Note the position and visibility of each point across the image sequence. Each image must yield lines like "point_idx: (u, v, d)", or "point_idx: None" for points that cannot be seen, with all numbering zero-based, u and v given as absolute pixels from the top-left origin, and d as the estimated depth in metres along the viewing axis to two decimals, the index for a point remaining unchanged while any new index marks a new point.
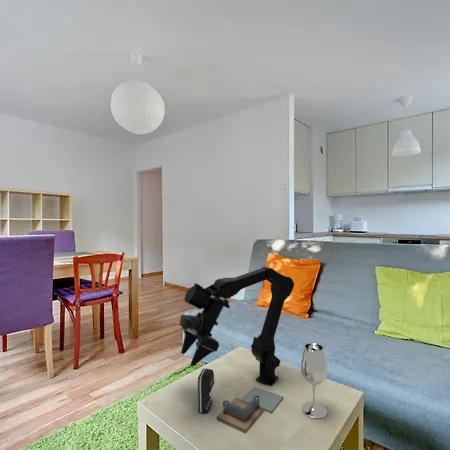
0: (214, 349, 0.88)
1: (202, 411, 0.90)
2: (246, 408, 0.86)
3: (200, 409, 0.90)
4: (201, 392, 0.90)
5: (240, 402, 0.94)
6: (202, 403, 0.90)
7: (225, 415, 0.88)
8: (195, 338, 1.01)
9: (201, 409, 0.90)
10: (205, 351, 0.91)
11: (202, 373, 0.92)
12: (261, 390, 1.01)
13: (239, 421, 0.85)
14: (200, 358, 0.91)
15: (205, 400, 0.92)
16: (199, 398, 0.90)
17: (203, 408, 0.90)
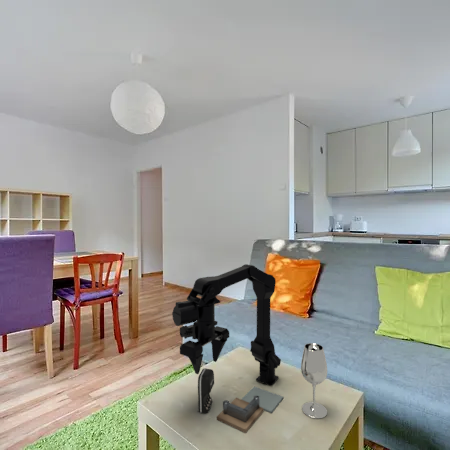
0: (190, 356, 0.84)
1: (202, 411, 0.90)
2: (246, 408, 0.86)
3: (200, 409, 0.90)
4: (201, 392, 0.90)
5: (240, 402, 0.94)
6: (202, 403, 0.90)
7: (225, 415, 0.88)
8: (220, 344, 0.96)
9: (201, 409, 0.90)
10: (196, 358, 0.87)
11: (202, 373, 0.92)
12: (261, 390, 1.01)
13: (239, 421, 0.85)
14: (197, 365, 0.88)
15: (205, 400, 0.92)
16: (199, 398, 0.90)
17: (203, 408, 0.90)
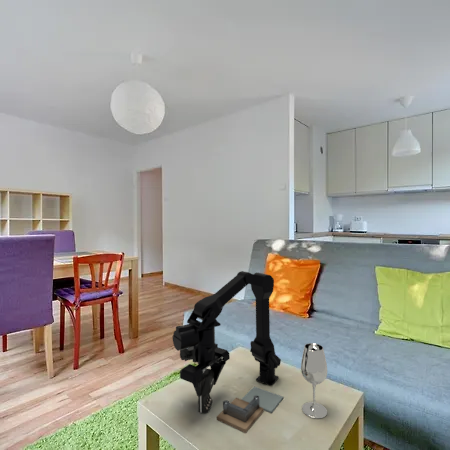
0: (190, 381, 0.84)
1: (202, 411, 0.90)
2: (246, 408, 0.86)
3: (200, 409, 0.90)
4: None
5: (240, 402, 0.94)
6: (202, 403, 0.90)
7: (225, 415, 0.88)
8: (219, 367, 0.95)
9: (201, 409, 0.90)
10: None
11: None
12: (261, 390, 1.01)
13: (239, 421, 0.85)
14: (199, 388, 0.89)
15: (205, 400, 0.92)
16: (199, 398, 0.90)
17: (203, 408, 0.90)
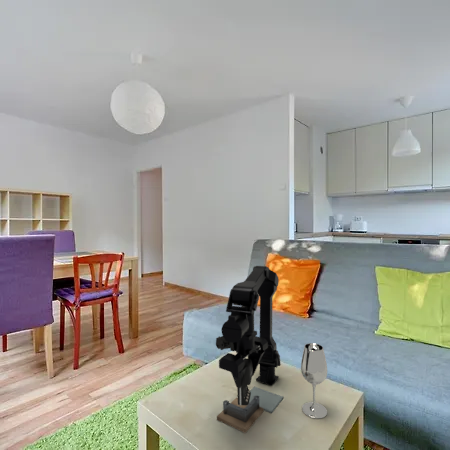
0: (232, 371, 0.77)
1: (242, 403, 0.83)
2: (246, 408, 0.86)
3: (240, 401, 0.83)
4: None
5: None
6: (242, 395, 0.83)
7: (225, 415, 0.88)
8: (257, 356, 0.88)
9: (240, 401, 0.83)
10: None
11: None
12: (261, 390, 1.01)
13: (239, 421, 0.85)
14: (239, 379, 0.81)
15: (244, 392, 0.85)
16: (239, 389, 0.83)
17: (243, 400, 0.83)
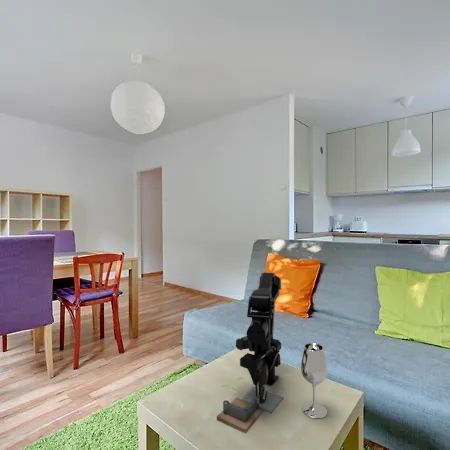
0: (252, 368, 0.88)
1: (260, 401, 0.94)
2: (246, 408, 0.86)
3: None
4: (258, 383, 0.94)
5: (240, 402, 0.94)
6: (259, 393, 0.94)
7: (225, 415, 0.88)
8: (273, 355, 1.00)
9: None
10: (256, 370, 0.91)
11: None
12: None
13: (239, 421, 0.85)
14: (256, 377, 0.91)
15: (261, 390, 0.96)
16: (256, 388, 0.94)
17: (260, 398, 0.94)
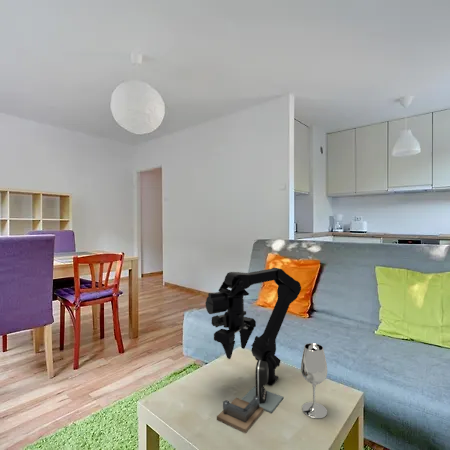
0: (224, 342, 0.93)
1: (260, 401, 0.94)
2: (246, 408, 0.86)
3: None
4: (259, 383, 0.94)
5: (240, 402, 0.94)
6: (260, 393, 0.94)
7: (225, 415, 0.88)
8: (248, 332, 1.05)
9: None
10: (229, 344, 0.96)
11: (258, 365, 0.96)
12: None
13: (239, 421, 0.85)
14: (229, 351, 0.97)
15: (261, 391, 0.96)
16: (257, 388, 0.94)
17: (261, 398, 0.94)
